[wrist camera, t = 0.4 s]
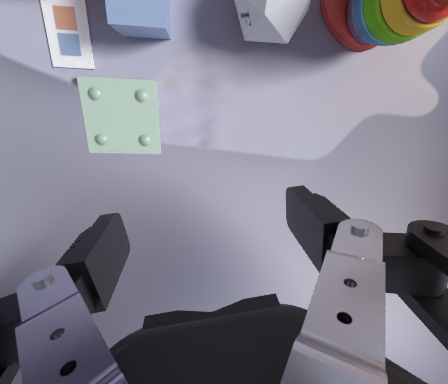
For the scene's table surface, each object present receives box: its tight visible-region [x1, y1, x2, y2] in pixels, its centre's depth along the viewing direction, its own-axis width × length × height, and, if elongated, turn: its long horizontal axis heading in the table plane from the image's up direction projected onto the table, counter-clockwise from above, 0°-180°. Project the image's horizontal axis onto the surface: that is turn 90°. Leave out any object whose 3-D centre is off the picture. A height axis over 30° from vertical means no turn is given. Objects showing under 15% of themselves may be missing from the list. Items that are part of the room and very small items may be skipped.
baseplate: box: [77, 76, 161, 154], centre depth 34 cm, size 10×10×1 cm
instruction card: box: [40, 0, 95, 69], centre depth 30 cm, size 8×5×1 cm, turn 178°
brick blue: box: [105, 0, 171, 40], centre depth 27 cm, size 6×6×6 cm
